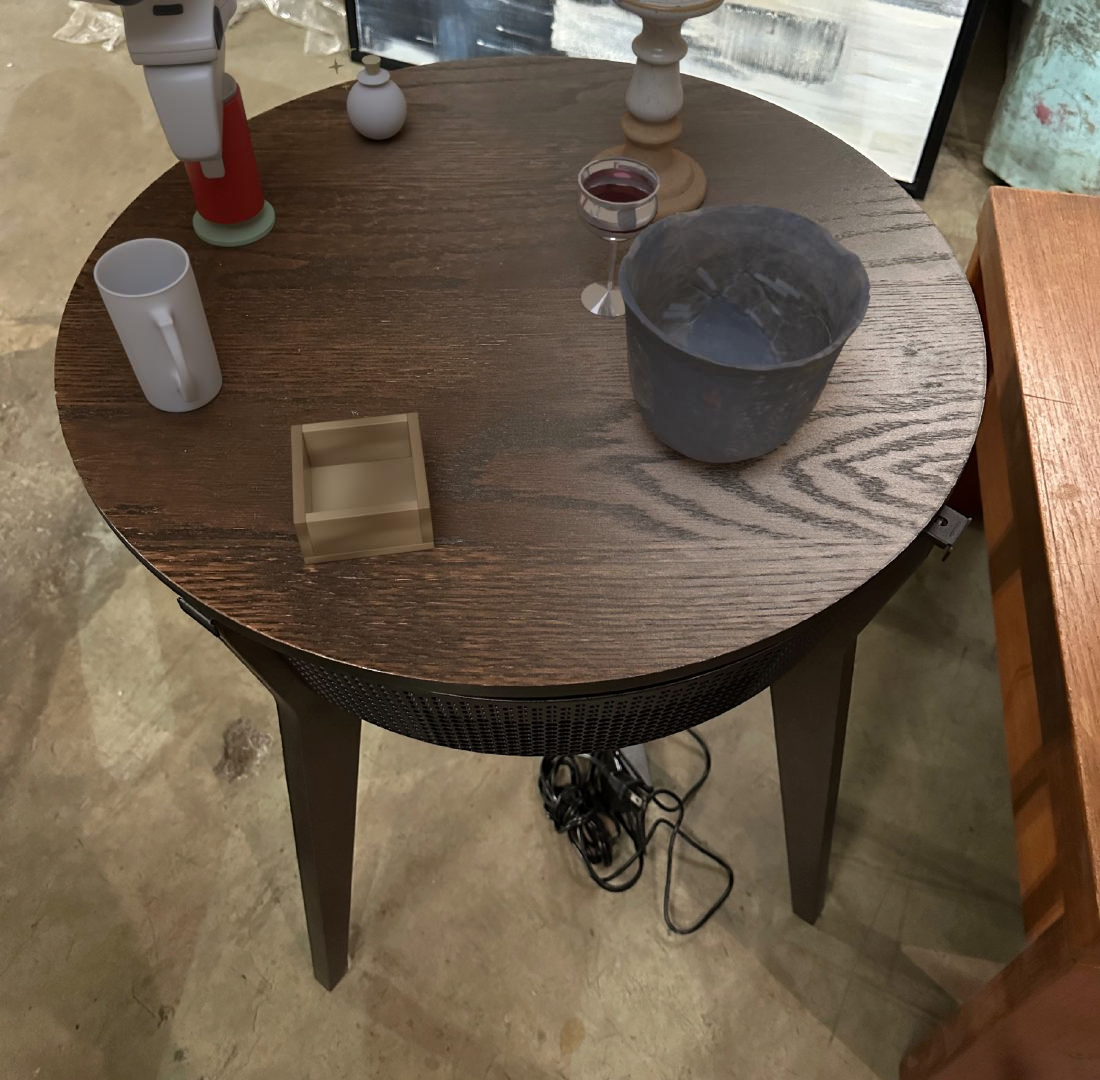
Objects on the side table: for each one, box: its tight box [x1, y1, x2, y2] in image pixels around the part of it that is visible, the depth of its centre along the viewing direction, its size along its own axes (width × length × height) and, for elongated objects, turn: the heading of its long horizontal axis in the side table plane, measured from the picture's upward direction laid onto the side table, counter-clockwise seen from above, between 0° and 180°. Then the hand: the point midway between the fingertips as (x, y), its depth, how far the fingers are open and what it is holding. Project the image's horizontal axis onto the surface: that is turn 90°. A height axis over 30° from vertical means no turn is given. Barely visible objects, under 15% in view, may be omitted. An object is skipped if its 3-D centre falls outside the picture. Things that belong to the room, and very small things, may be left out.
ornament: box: [327, 44, 408, 140], centre depth 103 cm, size 6×7×10 cm
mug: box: [93, 237, 223, 413], centre depth 79 cm, size 10×7×12 cm, turn 28°
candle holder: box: [588, 0, 725, 225], centre depth 95 cm, size 12×12×20 cm
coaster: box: [192, 199, 277, 248], centre depth 98 cm, size 8×8×1 cm
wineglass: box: [575, 157, 660, 318], centre depth 88 cm, size 7×7×12 cm
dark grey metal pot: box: [617, 203, 871, 464], centre depth 77 cm, size 18×18×15 cm
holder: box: [290, 411, 435, 565], centre depth 75 cm, size 9×9×5 cm
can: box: [183, 71, 266, 224], centre depth 92 cm, size 6×6×12 cm
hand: (216, 149), depth 92 cm, fingers closed on can, 6 cm apart
